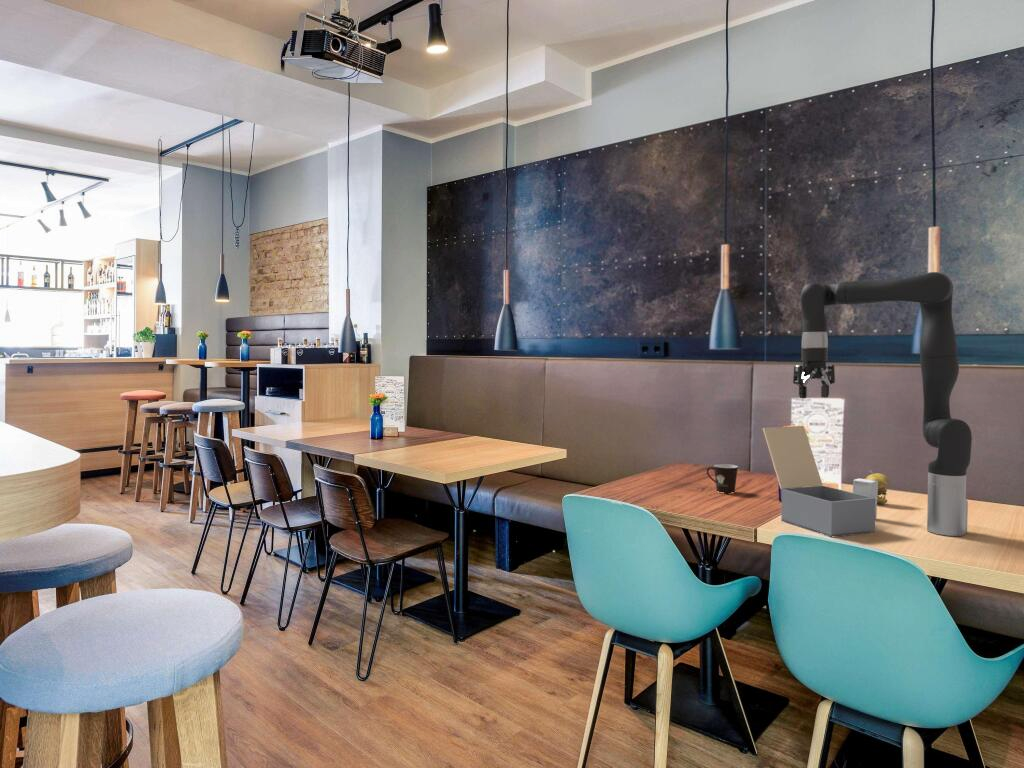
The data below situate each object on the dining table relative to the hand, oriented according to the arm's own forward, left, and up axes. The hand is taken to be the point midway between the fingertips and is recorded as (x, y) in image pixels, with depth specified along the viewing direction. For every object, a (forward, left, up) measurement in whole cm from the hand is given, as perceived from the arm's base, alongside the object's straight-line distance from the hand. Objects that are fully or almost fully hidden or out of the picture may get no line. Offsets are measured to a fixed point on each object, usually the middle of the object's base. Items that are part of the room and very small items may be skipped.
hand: (813, 397), depth 209 cm
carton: (+5, +11, -38) cm, 40 cm away
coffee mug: (+2, -43, -38) cm, 58 cm away
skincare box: (-14, +7, -38) cm, 41 cm away
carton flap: (+5, -3, -19) cm, 20 cm away
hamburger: (-34, -7, -38) cm, 52 cm away
